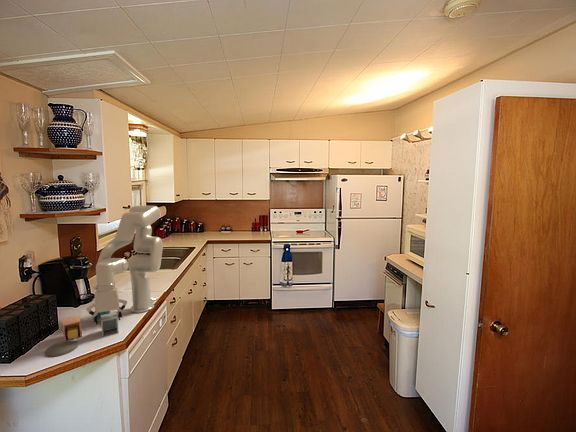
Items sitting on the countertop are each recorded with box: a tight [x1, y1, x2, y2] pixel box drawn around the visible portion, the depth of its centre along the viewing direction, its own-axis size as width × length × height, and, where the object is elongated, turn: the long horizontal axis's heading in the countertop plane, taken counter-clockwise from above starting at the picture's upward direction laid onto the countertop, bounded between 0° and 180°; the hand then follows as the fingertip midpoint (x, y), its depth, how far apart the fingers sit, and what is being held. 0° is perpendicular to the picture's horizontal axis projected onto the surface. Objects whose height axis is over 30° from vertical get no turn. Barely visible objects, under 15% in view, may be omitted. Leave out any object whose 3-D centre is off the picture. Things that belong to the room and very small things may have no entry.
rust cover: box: [62, 315, 83, 342], centre depth 153 cm, size 7×7×8 cm
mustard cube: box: [67, 326, 79, 340], centre depth 153 cm, size 4×4×4 cm
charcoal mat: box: [44, 340, 79, 358], centre depth 141 cm, size 12×12×1 cm
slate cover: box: [100, 311, 119, 337], centre depth 157 cm, size 7×7×8 cm
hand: (108, 321), depth 156 cm, fingers open, 9 cm apart
